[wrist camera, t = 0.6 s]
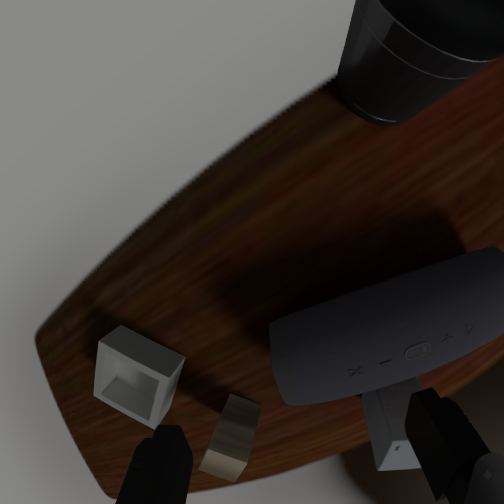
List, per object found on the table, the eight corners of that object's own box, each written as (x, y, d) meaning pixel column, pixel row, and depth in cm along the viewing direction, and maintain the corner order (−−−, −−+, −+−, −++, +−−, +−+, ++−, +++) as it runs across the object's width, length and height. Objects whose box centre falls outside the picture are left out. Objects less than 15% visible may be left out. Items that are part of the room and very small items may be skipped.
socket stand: (121, 324, 36) (98, 340, 31) (185, 356, 35) (169, 377, 30) (112, 377, 37) (93, 395, 33) (170, 407, 37) (155, 429, 32)
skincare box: (359, 399, 32) (374, 471, 21) (369, 369, 32) (391, 440, 20) (405, 401, 32) (431, 468, 20) (416, 372, 31) (451, 437, 19)
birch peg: (230, 393, 35) (207, 448, 25) (261, 404, 34) (247, 463, 25) (220, 414, 36) (198, 469, 26) (250, 425, 35) (234, 482, 26)
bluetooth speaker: (297, 374, 33) (293, 433, 23) (272, 300, 32) (258, 344, 22) (480, 311, 28) (525, 346, 19) (470, 234, 27) (523, 249, 18)
